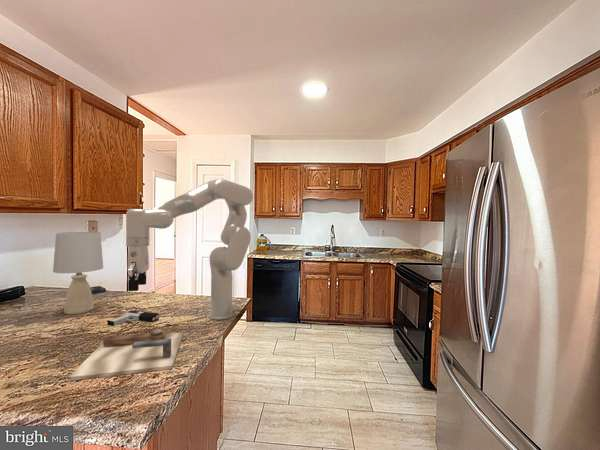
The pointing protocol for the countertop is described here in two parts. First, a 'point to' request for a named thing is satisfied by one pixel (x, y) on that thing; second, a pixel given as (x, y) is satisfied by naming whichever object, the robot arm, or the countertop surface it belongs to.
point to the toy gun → (134, 317)
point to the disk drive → (97, 289)
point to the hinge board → (130, 357)
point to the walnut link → (132, 338)
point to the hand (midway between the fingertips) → (137, 287)
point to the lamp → (78, 266)
